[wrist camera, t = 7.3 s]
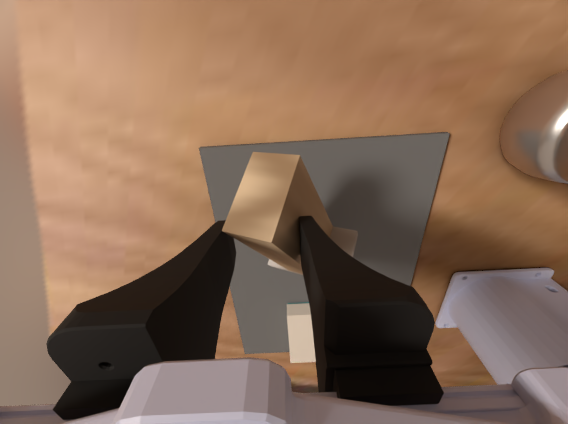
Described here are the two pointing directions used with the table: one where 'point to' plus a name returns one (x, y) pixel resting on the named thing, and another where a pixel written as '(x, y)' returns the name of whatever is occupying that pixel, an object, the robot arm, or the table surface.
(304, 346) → the tile
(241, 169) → the mat
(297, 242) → the tan upright post
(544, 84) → the plastic bottle
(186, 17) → the table surface
